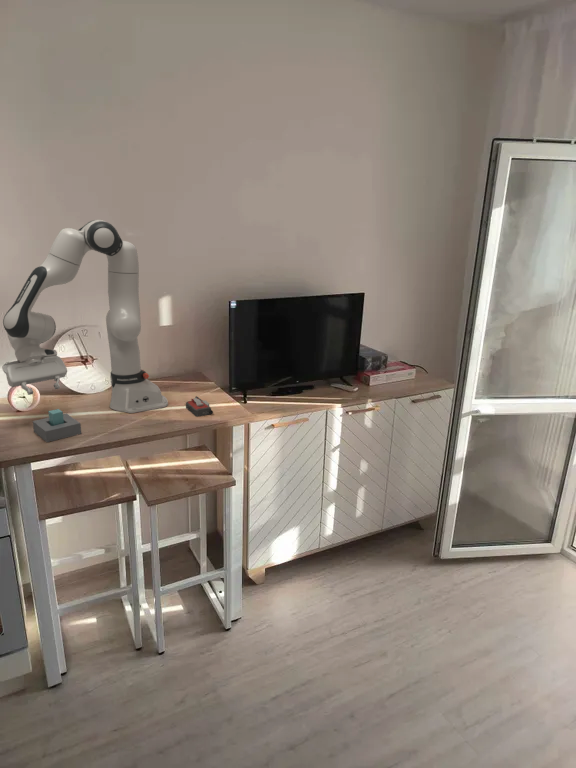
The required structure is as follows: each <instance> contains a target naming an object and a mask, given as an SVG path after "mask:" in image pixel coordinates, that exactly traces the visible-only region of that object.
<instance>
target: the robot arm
mask: <svg viewBox="0 0 576 768" xmlns="http://www.w3.org/2000/svg"><path fill="white" fill-rule="evenodd" d="M119 234H120V233H118V230H117V229H116V227H115V226H113V225H112V224H111V223H110V222H108V221H106V220H102V219H94V220H90V221H88V222H87V223H85V224H84V225H83V226H81V227H80V228H79V229H75V228H71V227H66V228H62V229H61V230H60V231H59V233H58V234H57V235H56V237H55V238H54V240H53V242H52V244H51V246H50V249H49V251H48V254H47V256H46V258H45V260H44V261H43V262H42V263H41V264H40V265H39V266H37V267H35V268H34V269H33V270H32V272H31V273H30V275H29V276H28V277H27V279H26V281H25V283H24V285H23V286H22V288H21V291H20V292H19V293H18V296H17V297H16V299H15V301H14V303H13V304H12V305H11V307H10V308H9V309H8V311H6V313H5V315H4V317H3V319H2V323H3V329H4V330H5V332H6V334H7V338H8V340H9V343H10V345H11V347H12V349H13V350H14V355H15V357H16V360H14V361H8V362H7V361H6V362H5V363H4V364H3V365H2V367H1V369H2V371H3V373H4V374H5V377H6V380H7V385H8V386H10V387H11V388H14V387H21V389H23V390H24V391H25V392H26V393H27V395H29V396H30V395H33V394H34V390H33V387H28V386H27V385H30V384H35V383H40V382H45V381H51V380H53V381H54V383H53V388H54V390H60V388H61V385H60V383H59V382H60V379H61V378H65V377H66V375H67V373H68V368H67V367H66V364H65V362H64V360H63V359H62V358H61V357H60V356H59V355H58V351H57V350H56V349H52V348H45V347H44V348H43V347H41V346H40V344H44V343H45V342H48V341H49V340H50V339H51V338H52V337H53V336H54V335H55V333H56V331H57V325H56V322H55V320H54V318H53V317H52V316H51V315H49V314H46V313H45V314H44V313H42V312H35V311H32V310H33V308H34V306H35V303H36V302H37V300H38V299H39V296H40V295H41V293H42V292H43V291H44V290H45V289H48V288H50V287H53V286H61V285H66V284H69V283H71V282H72V281H73V280H74V279H75V278H76V276H77V274H78V272H79V270H80V267H81V264H82V262H83V259H84V257H85V255H86V254H87V253H89V251H95V252H97V253H100V254H103V255H105V256H106V258H107V294H108V305H109V310H108V312H107V313H106V317H105V321H106V325H105V326H106V331H107V332H106V333H107V339H108V340H107V341H108V346H109V354H110V355H109V357H110V367H111V369H110V370H111V372H110V385H111V398H110V402H109V403H110V404H109V407H110V409H112V410H114V411H118V412H125V413H128V414H134V413H139V412H146V411H150V410H151V411H152V410H155V409H162V408H166V407H167V406H168V405H169V402H168V399H167V397H166V396H164V395H163V394H162V390H161V389H160V387H159V386H158V385H157V384H156V383H154V382H152V381H151V380H149V377H150V375H149V374H148V373H147V372H146V371H145V370H144V369H141V354H140V353H141V352H140V347H139V341H138V337H139V336H140V334H141V330H142V329H141V327H142V325H141V308H140V297H139V282H140V281H139V280H140V279H139V277H140V273H139V271H140V270H139V269H140V267H139V266H140V265H139V256H138V250H137V247H136V245H135V244H133V243H132V242H130V241H128V240H123V239H122V238H121V236H120V235H119Z"/></svg>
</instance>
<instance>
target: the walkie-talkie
mask: <svg viewBox="0 0 576 768" xmlns="http://www.w3.org/2000/svg"><path fill="white" fill-rule="evenodd" d="M185 409H186V410H188V412H190V413H191V414H192V415H193V416H195V417H197V418H198V417H199V418H200V417H203V416H210V415H213V414H214V410H212V408H211V407H210V403H209V402H208V401H207V400H202V399H201V398H200V397H199V396H197V395H196V396H195V397H194V398H191V400H188V401H186V402H185Z"/></svg>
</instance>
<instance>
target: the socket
mask: <svg viewBox="0 0 576 768" xmlns="http://www.w3.org/2000/svg"><path fill="white" fill-rule="evenodd" d="M63 419H64V423H63V424H59V425H55V426H51V425H50V422H49V417H46V418H45V417H44V418H40V419H35V420H32V428H33V433H35V434H36V435H37V436H38V437H40V438H41V439H42V440H43V441H45V442H46V443H50V441H51V442H54V441H58V439H59V440H62V439H65V438H70V437H74V436H77V434H78V435H82V424H81V422H79V421H78V420H77V419H75V418H74V417H72V416H71V415H70V414H68V413H63Z"/></svg>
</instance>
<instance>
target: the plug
mask: <svg viewBox="0 0 576 768" xmlns="http://www.w3.org/2000/svg"><path fill="white" fill-rule="evenodd" d="M63 414H64V413H63V411H62V410H61V409H59V408H57V409H52V410H48V418H49V422H50V425H51V426H55V425H59V424H63V423H64V419H63Z"/></svg>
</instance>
